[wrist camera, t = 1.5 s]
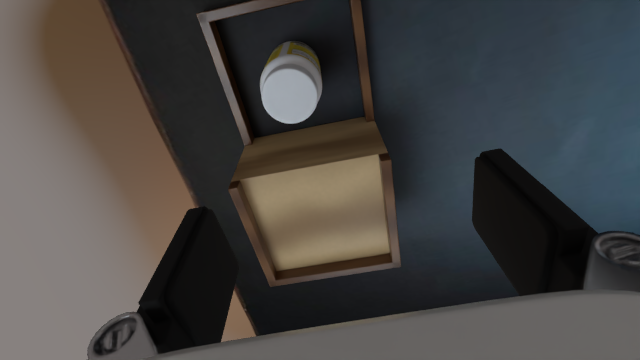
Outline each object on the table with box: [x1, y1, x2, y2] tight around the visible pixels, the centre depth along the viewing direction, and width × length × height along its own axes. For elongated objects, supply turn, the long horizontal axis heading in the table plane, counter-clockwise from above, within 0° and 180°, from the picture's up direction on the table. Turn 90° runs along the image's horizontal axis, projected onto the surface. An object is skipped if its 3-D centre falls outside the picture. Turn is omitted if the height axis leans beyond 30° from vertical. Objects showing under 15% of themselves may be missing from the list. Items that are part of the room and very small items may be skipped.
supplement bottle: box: [260, 41, 322, 124], centre depth 26 cm, size 5×5×8 cm
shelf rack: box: [196, 0, 401, 287], centre depth 29 cm, size 24×13×9 cm, turn 12°
